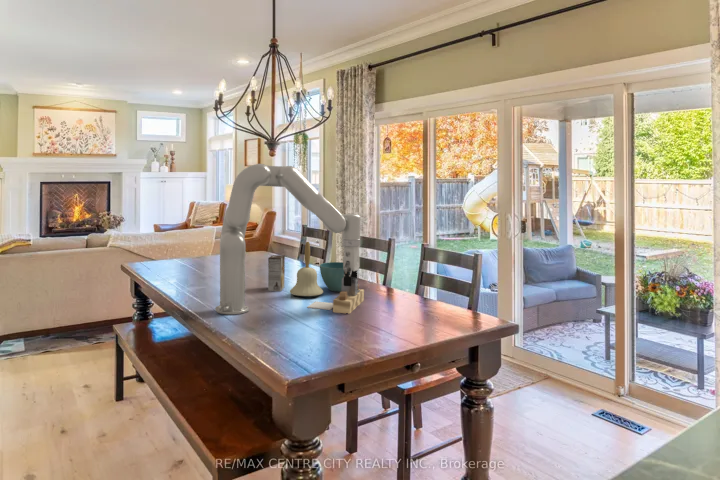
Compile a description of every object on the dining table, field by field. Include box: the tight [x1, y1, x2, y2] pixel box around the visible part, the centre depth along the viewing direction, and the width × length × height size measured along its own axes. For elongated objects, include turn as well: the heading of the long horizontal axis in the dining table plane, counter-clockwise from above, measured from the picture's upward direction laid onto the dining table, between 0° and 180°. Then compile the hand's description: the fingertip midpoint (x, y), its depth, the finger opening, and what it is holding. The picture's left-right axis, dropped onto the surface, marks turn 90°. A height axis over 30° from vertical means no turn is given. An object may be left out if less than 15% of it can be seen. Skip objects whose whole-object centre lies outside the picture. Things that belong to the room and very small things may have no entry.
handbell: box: [289, 241, 324, 297], centre depth 222 cm, size 15×15×25 cm
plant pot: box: [319, 261, 344, 293], centre depth 237 cm, size 18×18×12 cm
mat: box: [306, 301, 333, 311], centre depth 205 cm, size 10×10×1 cm
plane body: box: [332, 283, 365, 315], centre depth 206 cm, size 24×7×8 cm, turn 166°
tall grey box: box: [341, 277, 359, 296], centre depth 206 cm, size 4×6×7 cm, turn 76°
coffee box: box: [267, 254, 286, 292], centre depth 234 cm, size 9×6×16 cm
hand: (350, 283), depth 205 cm, fingers open, 9 cm apart
